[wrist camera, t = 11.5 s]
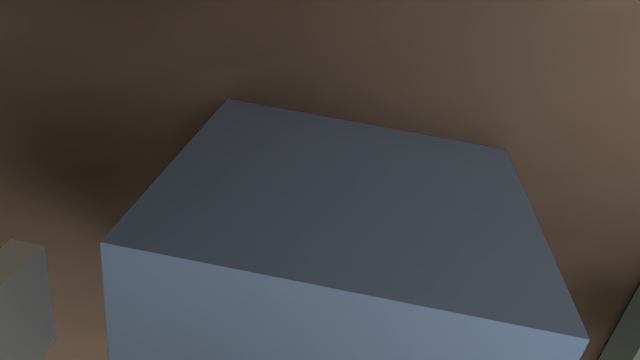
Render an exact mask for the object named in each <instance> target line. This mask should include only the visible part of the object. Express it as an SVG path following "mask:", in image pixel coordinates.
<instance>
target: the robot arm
mask: <svg viewBox="0 0 640 360" xmlns="http://www.w3.org/2000/svg"><path fill="white" fill-rule="evenodd" d="M55 341H56V334H55V326H54V318H53V310H52V301H51V293H50V285H49V277H48V269H47V261H46V253H45V246H43V245H38V244H33V243H29V242H24V241H19V240H14V239H10V240H9V241H8V242H7V243H5V244H4V245H3V246H2V247H1V248H0V360H40V359H41V358H42V356H43V355H44V354H45V353H46V351H47V350H48V349H49V348H50V347H51V345H52V344H53V343H54V342H55Z"/></svg>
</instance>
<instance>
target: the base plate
mask: <svg viewBox="0 0 640 360" xmlns="http://www.w3.org/2000/svg"><path fill="white" fill-rule="evenodd" d="M598 360H640V285H639V287H638V288H637V290H636V292H635V294H634V296H633V297H632V299H631V301H630V303H629V305H628V306H627V308H626V310H625V312H624V314H623V316H622V317H621V319H620V321H619V323H618V325H617V326H616V328H615V330H614V332H613V334H612V335H611V337H610V339H609V341H608V343H607V344H606V346H605V348H604V350H603V352H602V353H601V355H600V357H599V359H598Z"/></svg>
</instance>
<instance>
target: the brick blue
mask: <svg viewBox="0 0 640 360" xmlns="http://www.w3.org/2000/svg"><path fill="white" fill-rule="evenodd" d="M100 249H101V263H102V276H103V290H104V303H105V317H106V330H107V344H108V357H109V360H580V358H581V356H582V354H583V352H584V350H585V348H586V346H587V344H588V343H589V341H590V338H589V336H588V334H587V332H586V329H585V327H584V325H583V323H582V320H581V318H580V316H579V313H578V311H577V309H576V307H575V304H574V302H573V300H572V298H571V295H570V293H569V291H568V288H567V286H566V284H565V282H564V279H563V277H562V275H561V273H560V270H559V268H558V266H557V263H556V261H555V259H554V257H553V254H552V252H551V250H550V248H549V245H548V243H547V241H546V238H545V236H544V234H543V232H542V229H541V227H540V225H539V223H538V220H537V218H536V216H535V214H534V211H533V209H532V207H531V204H530V202H529V200H528V198H527V195H526V193H525V191H524V189H523V186H522V184H521V182H520V179H519V177H518V175H517V173H516V170H515V168H514V166H513V164H512V161H511V159H510V157H509V154H508V152H507V150H506V149H501V148H496V147H490V146H485V145H479V144H474V143H469V142H463V141H458V140H452V139H447V138H441V137H436V136H430V135H425V134H419V133H414V132H408V131H403V130H397V129H392V128H386V127H381V126H375V125H370V124H364V123H359V122H353V121H348V120H342V119H337V118H331V117H326V116H320V115H315V114H310V113H304V112H299V111H293V110H288V109H282V108H277V107H271V106H266V105H260V104H255V103H249V102H244V101H238V100H233V99H227V100H226V101H225V102H224V103H223V104H222V106H221V107H220V108H219V109H218V110H217V111H216V112H215V113H214V115H213V116H212V117H211V118H210V119H209V120H208V121H207V122H206V124H205V125H204V126H203V127H202V128H201V129H200V130H199V131H198V133H197V134H196V135H195V136H194V137H193V138H192V139H191V140H190V142H189V143H188V144H187V145H186V146H185V147H184V148H183V149H182V150H181V152H180V153H179V154H178V155H177V156H176V157H175V158H174V159H173V161H172V162H171V163H170V164H169V165H168V166H167V167H166V168H165V170H164V171H163V172H162V173H161V174H160V175H159V176H158V177H157V179H156V180H155V181H154V182H153V183H152V184H151V185H150V186H149V188H148V189H147V190H146V191H145V192H144V193H143V194H142V195H141V197H140V198H139V199H138V200H137V201H136V202H135V203H134V204H133V206H132V207H131V208H130V209H129V210H128V211H127V212H126V213H125V215H124V216H123V217H122V218H121V219H120V220H119V221H118V222H117V224H116V225H115V226H114V227H113V228H112V229H111V230H110V231H109V233H108V234H107V235H106V236H105V237H104V238H103V239H102V240H101V242H100Z"/></svg>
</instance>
